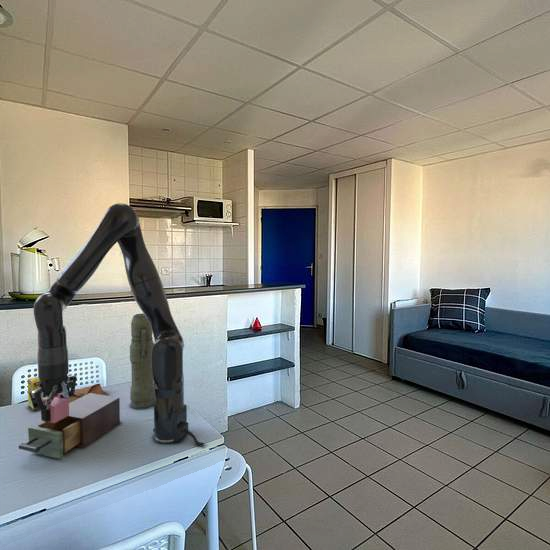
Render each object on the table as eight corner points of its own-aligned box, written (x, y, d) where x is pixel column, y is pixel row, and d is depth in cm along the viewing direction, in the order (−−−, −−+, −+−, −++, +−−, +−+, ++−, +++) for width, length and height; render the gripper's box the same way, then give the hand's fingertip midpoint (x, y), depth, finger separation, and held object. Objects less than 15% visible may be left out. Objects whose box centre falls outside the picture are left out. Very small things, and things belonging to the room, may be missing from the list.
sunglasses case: (58, 410, 128) (55, 392, 130) (53, 414, 133) (50, 396, 135) (108, 395, 142) (105, 379, 143) (102, 399, 146) (99, 384, 148)
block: (69, 415, 105) (68, 399, 104) (54, 423, 100) (53, 406, 100) (56, 413, 106) (55, 397, 106) (41, 420, 101) (40, 404, 101)
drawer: (43, 469, 94) (42, 443, 93) (11, 461, 97) (10, 436, 96) (99, 433, 112) (98, 411, 112) (71, 427, 115) (70, 406, 115)
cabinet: (83, 447, 105) (82, 418, 105) (51, 440, 109) (49, 412, 108) (120, 423, 120) (119, 397, 120) (90, 417, 124) (89, 392, 123)
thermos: (150, 395, 143) (149, 311, 140) (159, 406, 133) (158, 316, 131) (127, 400, 138) (125, 313, 135) (134, 412, 128) (133, 318, 126)
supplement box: (34, 411, 128) (33, 382, 127) (28, 407, 132) (27, 378, 131) (52, 406, 133) (51, 378, 132) (46, 401, 136) (45, 374, 135)
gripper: (40, 369, 94) (43, 430, 95) (83, 354, 108) (85, 408, 109) (19, 366, 96) (22, 426, 97) (64, 352, 110) (66, 404, 111)
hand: (55, 416), depth 103 cm, fingers closed on block, 5 cm apart
